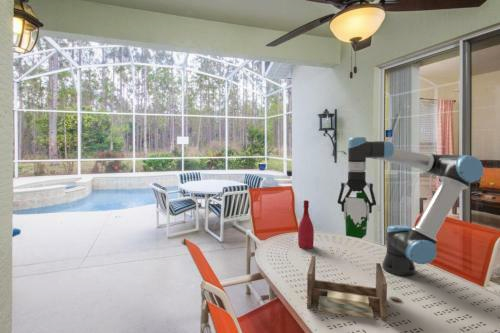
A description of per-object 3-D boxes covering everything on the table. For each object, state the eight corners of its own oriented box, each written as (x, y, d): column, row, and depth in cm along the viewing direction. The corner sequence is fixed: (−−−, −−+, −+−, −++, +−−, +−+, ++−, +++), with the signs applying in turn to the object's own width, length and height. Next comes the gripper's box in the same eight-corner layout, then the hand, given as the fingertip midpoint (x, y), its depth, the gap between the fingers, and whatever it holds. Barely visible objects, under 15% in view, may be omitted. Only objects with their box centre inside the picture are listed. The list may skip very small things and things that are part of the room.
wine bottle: (313, 249, 174) (314, 202, 172) (297, 248, 176) (298, 201, 174) (313, 244, 184) (313, 199, 182) (298, 243, 186) (298, 198, 184)
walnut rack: (379, 295, 121) (380, 263, 120) (385, 321, 103) (387, 284, 102) (311, 285, 129) (312, 255, 128) (307, 307, 111) (307, 273, 110)
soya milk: (363, 239, 124) (363, 194, 123) (342, 235, 130) (343, 193, 128) (368, 234, 131) (369, 192, 130) (349, 231, 137) (349, 190, 135)
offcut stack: (370, 311, 110) (371, 296, 109) (373, 319, 104) (373, 304, 104) (318, 303, 115) (318, 289, 114) (318, 311, 109) (318, 296, 109)
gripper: (331, 171, 128) (331, 219, 130) (384, 172, 121) (383, 223, 123) (331, 170, 135) (331, 216, 137) (381, 170, 129) (380, 218, 130)
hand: (356, 219), depth 130 cm, fingers closed on soya milk, 9 cm apart
